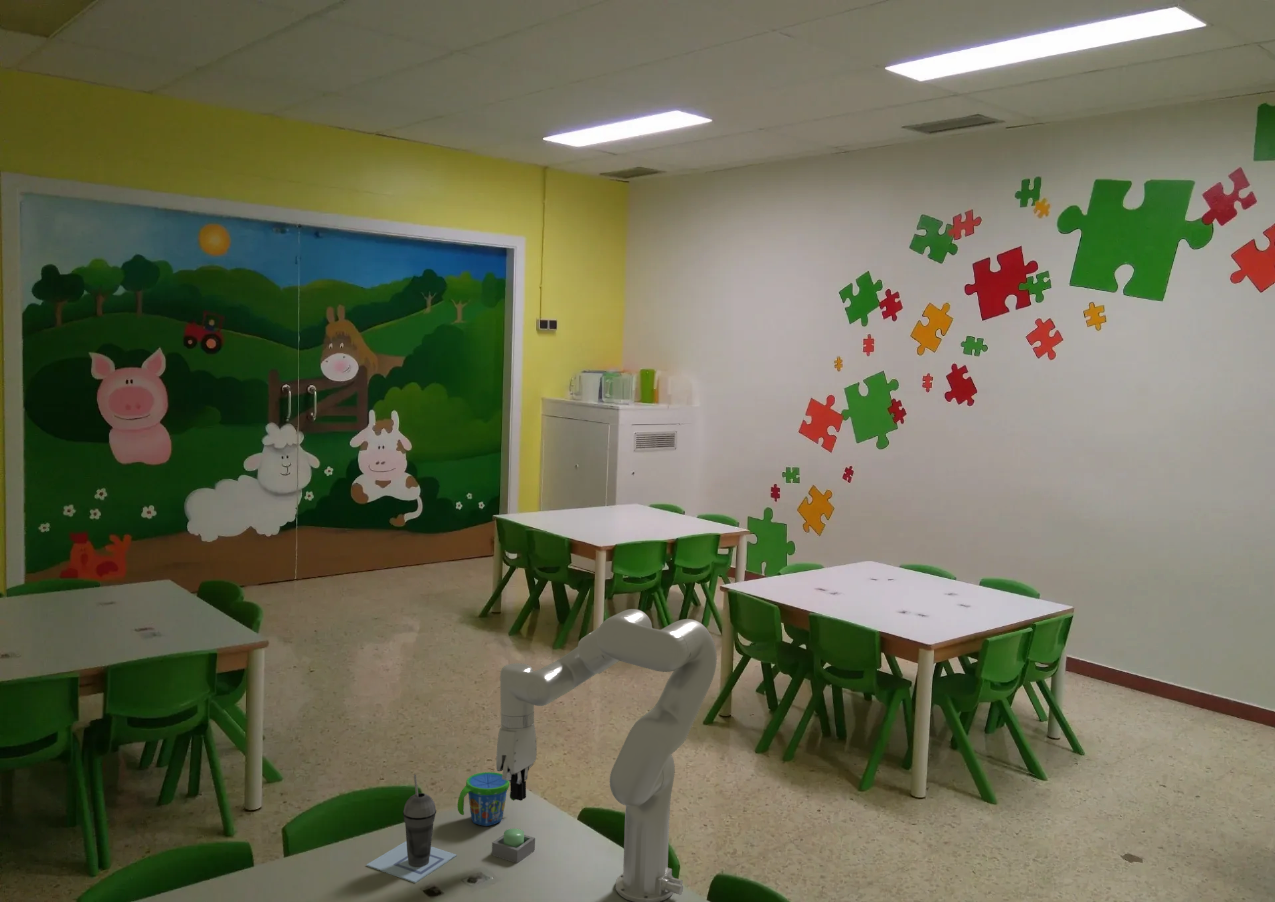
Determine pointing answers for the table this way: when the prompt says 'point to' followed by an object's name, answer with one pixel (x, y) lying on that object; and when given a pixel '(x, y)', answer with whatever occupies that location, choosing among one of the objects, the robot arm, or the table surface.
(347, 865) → the table surface
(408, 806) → the beverage cup
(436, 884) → the table surface
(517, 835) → the button
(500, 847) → the button housing
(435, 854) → the paper
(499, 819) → the snack cup
